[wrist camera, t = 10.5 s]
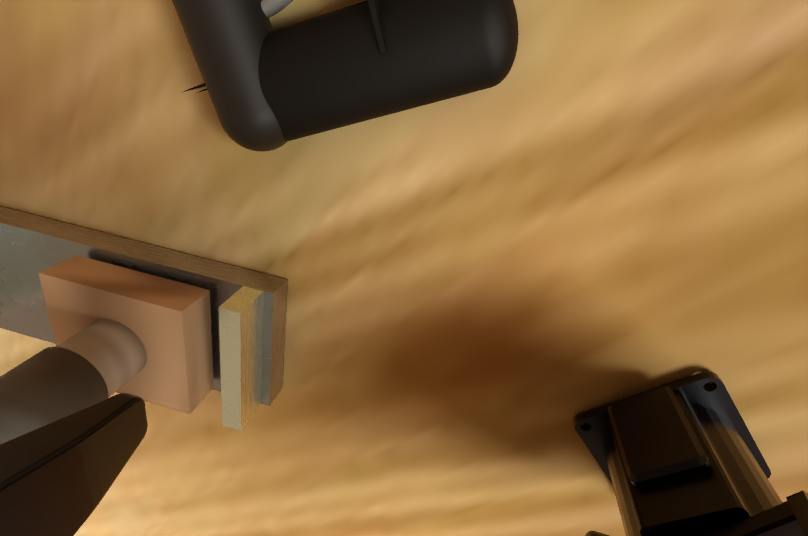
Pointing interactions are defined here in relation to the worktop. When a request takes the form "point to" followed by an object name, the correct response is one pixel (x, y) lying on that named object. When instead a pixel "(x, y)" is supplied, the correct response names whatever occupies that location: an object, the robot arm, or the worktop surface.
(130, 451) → the robot arm
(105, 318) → the carriage
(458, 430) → the worktop surface
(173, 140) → the worktop surface
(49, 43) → the worktop surface
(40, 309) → the rail
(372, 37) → the door handle
